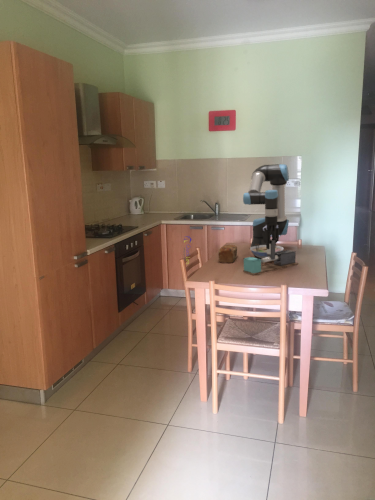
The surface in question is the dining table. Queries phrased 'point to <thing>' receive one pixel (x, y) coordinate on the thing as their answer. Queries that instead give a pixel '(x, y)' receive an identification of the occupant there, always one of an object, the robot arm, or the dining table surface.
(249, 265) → the teal block
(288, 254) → the dark grey block
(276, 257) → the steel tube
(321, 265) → the dining table surface
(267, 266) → the walnut board
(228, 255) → the bread
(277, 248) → the ramen bowl
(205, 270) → the dining table surface
